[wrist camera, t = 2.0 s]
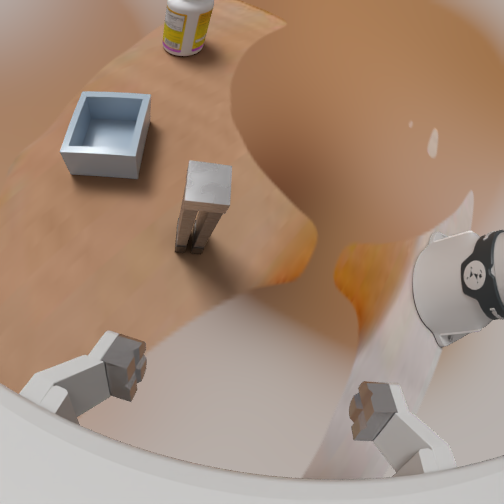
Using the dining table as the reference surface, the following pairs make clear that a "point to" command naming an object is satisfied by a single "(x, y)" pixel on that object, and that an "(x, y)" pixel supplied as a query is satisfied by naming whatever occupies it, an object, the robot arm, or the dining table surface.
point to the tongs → (202, 203)
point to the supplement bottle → (186, 26)
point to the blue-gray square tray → (107, 134)
